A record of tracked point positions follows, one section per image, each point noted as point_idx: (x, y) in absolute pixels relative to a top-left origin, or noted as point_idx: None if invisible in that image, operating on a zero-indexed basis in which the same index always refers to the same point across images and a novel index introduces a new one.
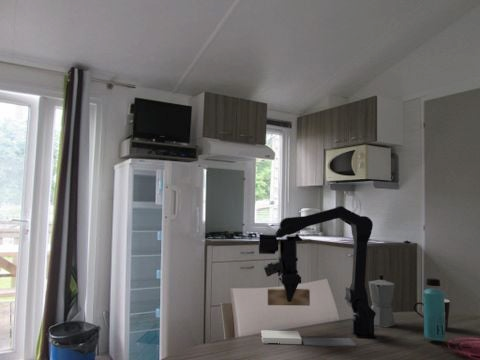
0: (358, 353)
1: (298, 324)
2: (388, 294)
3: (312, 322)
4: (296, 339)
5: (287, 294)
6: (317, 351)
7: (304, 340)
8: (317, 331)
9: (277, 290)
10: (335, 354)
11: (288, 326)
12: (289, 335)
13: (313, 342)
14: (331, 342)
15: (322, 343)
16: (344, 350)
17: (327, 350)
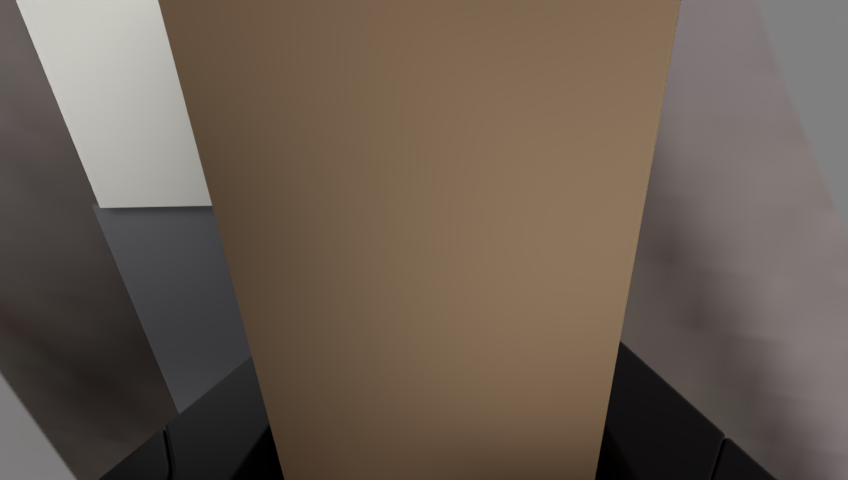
0: (92, 459)
1: (774, 229)
2: None
3: (819, 350)
4: (87, 160)
5: (216, 406)
6: (7, 272)
7: (195, 221)
8: None
9: (210, 168)
10: (7, 359)
11: (710, 122)
12: (154, 105)
13: (168, 278)
14: (215, 383)
15: (168, 330)
16: (113, 413)
17: (64, 332)
